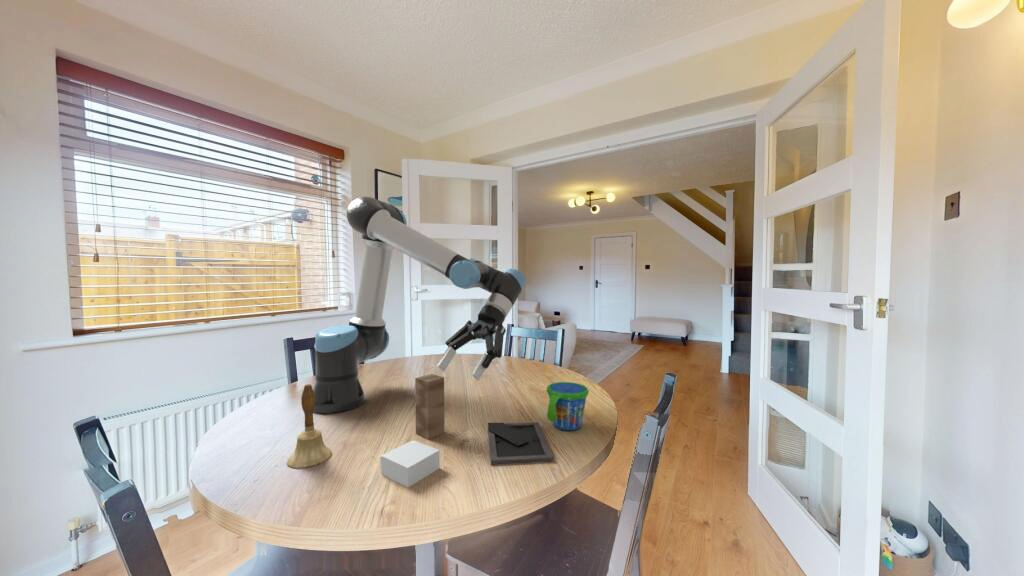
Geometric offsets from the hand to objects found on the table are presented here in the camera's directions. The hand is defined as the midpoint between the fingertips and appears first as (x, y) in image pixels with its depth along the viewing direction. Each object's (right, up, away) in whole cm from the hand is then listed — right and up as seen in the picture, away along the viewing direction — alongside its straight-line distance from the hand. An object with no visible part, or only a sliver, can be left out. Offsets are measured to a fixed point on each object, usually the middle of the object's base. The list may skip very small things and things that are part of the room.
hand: (456, 373), depth 92 cm
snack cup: (+29, -14, -1) cm, 32 cm away
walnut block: (-6, -14, -5) cm, 16 cm away
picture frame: (+16, -15, -10) cm, 24 cm away
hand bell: (-29, -14, -17) cm, 37 cm away
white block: (-6, -15, -22) cm, 27 cm away
